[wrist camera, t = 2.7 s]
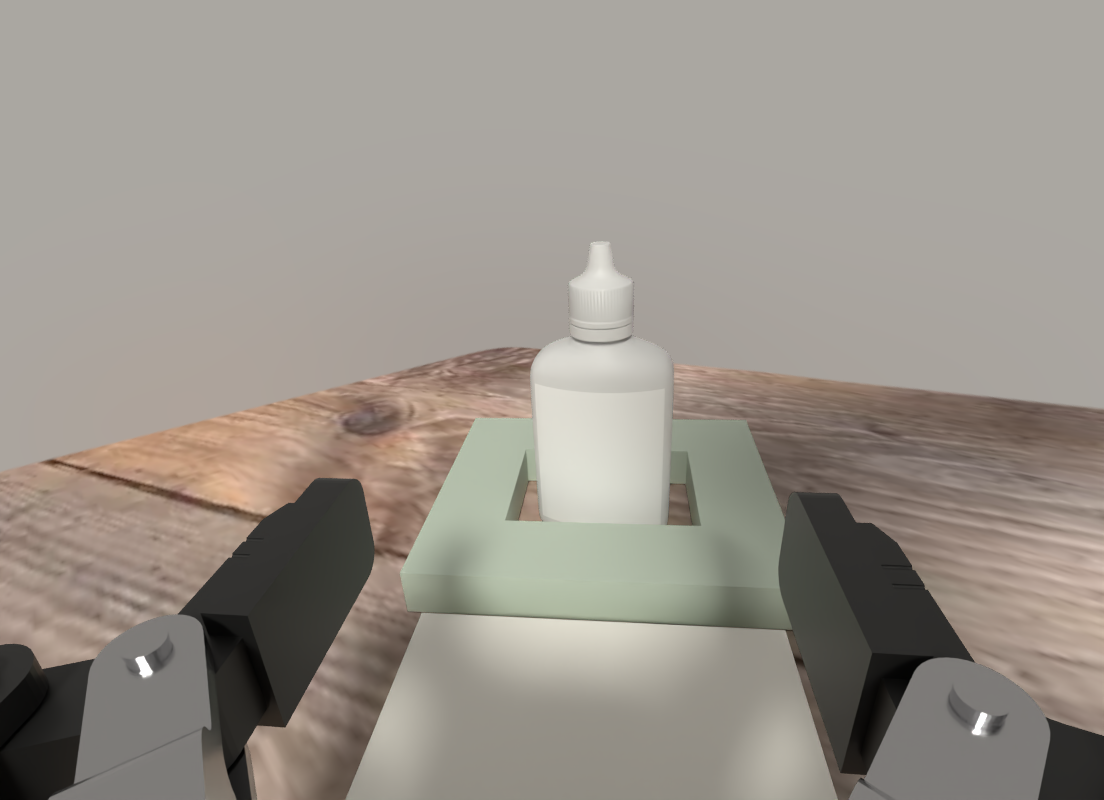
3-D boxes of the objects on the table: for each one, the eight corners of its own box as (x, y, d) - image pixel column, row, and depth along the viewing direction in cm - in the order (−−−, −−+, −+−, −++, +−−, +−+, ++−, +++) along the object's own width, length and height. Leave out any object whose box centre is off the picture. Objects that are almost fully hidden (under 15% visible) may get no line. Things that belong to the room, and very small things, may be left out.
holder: (742, 450, 31) (745, 419, 30) (805, 630, 20) (812, 589, 19) (479, 447, 33) (475, 418, 32) (407, 611, 22) (399, 573, 21)
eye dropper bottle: (629, 571, 23) (631, 263, 18) (524, 518, 27) (501, 247, 21) (685, 516, 26) (701, 239, 21) (584, 475, 30) (576, 227, 24)
